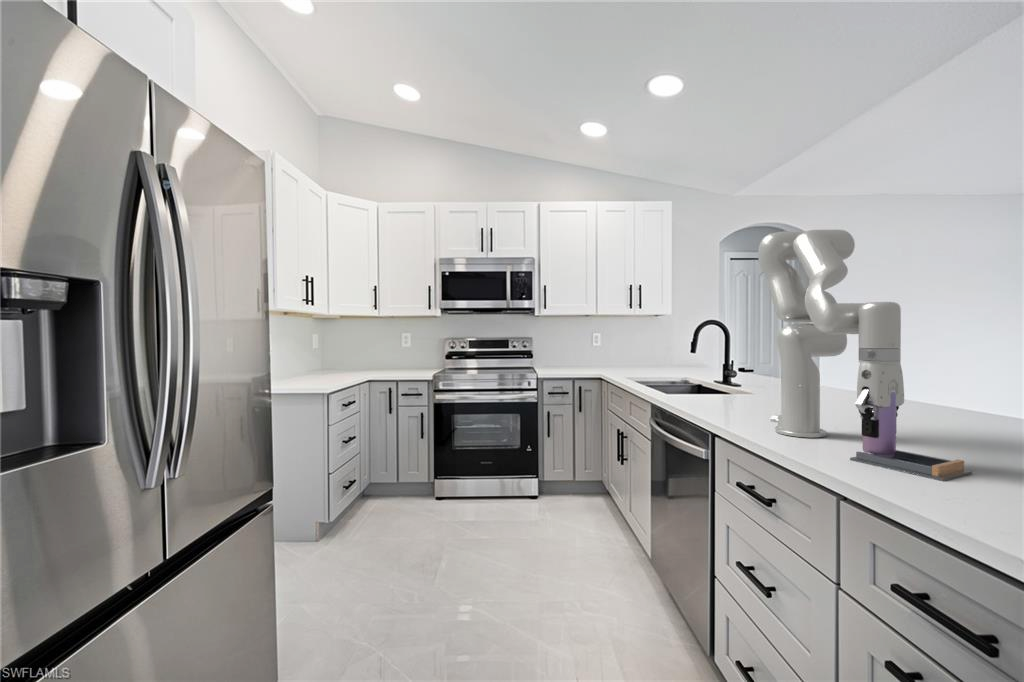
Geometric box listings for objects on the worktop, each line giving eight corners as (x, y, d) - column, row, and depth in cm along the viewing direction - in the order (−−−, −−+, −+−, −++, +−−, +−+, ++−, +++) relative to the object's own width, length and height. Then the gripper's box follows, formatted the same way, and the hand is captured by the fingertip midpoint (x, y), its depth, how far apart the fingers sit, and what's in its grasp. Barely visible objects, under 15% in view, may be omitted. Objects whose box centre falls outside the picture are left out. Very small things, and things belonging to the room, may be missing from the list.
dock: (850, 459, 107) (850, 449, 107) (878, 454, 111) (878, 443, 111) (943, 481, 91) (943, 468, 91) (971, 473, 96) (971, 461, 95)
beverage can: (902, 458, 103) (902, 390, 102) (872, 457, 104) (872, 390, 103) (884, 451, 109) (884, 387, 108) (856, 450, 109) (856, 387, 109)
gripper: (874, 358, 99) (874, 442, 99) (920, 356, 106) (920, 434, 106) (837, 356, 106) (837, 435, 106) (882, 354, 113) (882, 428, 113)
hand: (878, 434), depth 106 cm, fingers closed on beverage can, 5 cm apart
